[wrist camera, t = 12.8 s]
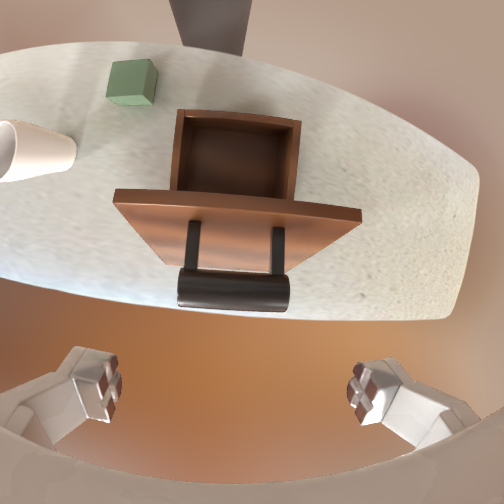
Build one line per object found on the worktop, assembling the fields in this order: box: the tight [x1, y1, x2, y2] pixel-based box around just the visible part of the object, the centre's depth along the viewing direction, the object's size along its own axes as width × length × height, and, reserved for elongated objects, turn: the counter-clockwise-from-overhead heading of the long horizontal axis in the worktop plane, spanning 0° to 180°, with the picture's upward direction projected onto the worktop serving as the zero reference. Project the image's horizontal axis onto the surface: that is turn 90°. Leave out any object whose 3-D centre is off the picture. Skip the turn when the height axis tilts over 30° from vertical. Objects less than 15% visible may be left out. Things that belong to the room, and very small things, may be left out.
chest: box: [170, 109, 302, 200], centre depth 32 cm, size 16×13×9 cm
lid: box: [113, 189, 362, 312], centre depth 21 cm, size 16×13×5 cm
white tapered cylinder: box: [0, 119, 77, 182], centre depth 25 cm, size 7×7×15 cm
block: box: [106, 59, 158, 106], centre depth 29 cm, size 5×5×5 cm
